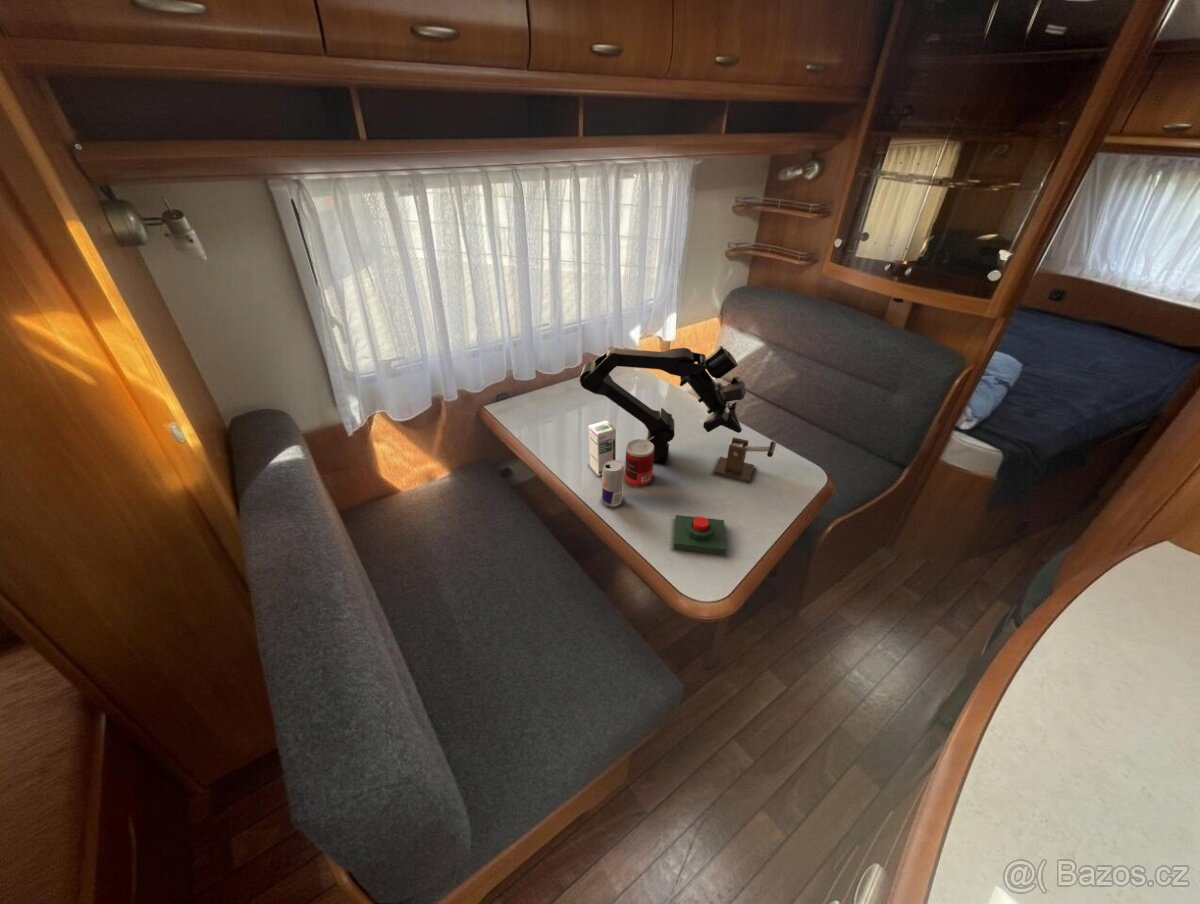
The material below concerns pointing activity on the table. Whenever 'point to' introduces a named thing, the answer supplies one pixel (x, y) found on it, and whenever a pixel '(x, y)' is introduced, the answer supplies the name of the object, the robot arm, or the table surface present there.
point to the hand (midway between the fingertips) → (740, 431)
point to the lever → (759, 448)
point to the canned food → (639, 462)
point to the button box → (699, 536)
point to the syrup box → (601, 445)
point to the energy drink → (612, 483)
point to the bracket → (735, 463)
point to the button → (700, 524)
